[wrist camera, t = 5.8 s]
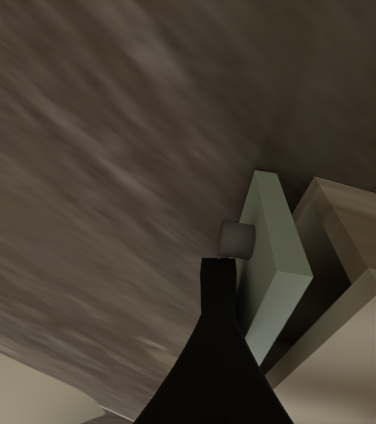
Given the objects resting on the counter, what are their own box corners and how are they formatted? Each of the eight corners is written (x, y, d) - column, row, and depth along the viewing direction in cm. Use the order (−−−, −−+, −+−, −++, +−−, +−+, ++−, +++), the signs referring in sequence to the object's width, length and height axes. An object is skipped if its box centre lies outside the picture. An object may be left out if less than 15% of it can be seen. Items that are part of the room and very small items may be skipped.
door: (222, 325, 19) (222, 427, 15) (192, 320, 19) (182, 420, 15) (276, 173, 12) (313, 276, 7) (228, 165, 12) (233, 264, 7)
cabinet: (362, 358, 21) (409, 472, 15) (224, 325, 20) (225, 433, 15) (528, 235, 13) (732, 379, 8) (314, 176, 12) (381, 290, 7)
